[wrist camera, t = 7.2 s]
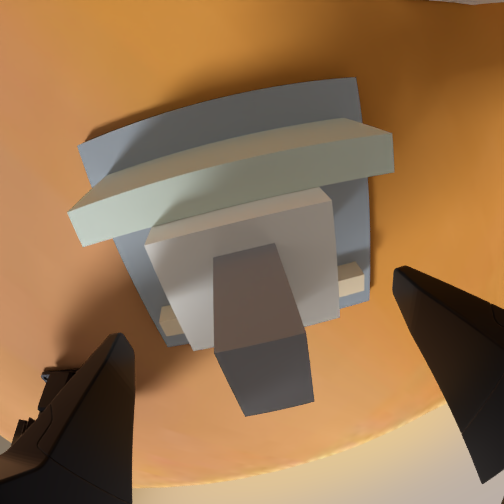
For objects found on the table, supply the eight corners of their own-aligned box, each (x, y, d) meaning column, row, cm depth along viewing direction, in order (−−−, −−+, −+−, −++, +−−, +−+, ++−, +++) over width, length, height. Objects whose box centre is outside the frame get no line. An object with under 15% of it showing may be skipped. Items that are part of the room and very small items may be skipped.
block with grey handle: (303, 244, 17) (376, 398, 8) (198, 269, 17) (191, 438, 8) (289, 156, 14) (394, 271, 6) (169, 186, 14) (111, 336, 6)
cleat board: (364, 293, 20) (398, 349, 16) (168, 339, 21) (161, 404, 16) (349, 77, 13) (409, 78, 9) (83, 142, 13) (28, 172, 9)
